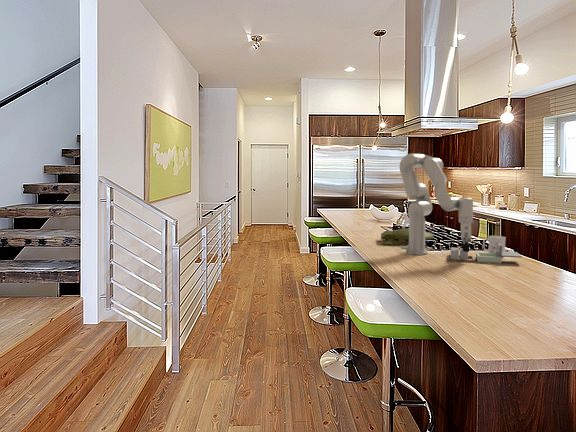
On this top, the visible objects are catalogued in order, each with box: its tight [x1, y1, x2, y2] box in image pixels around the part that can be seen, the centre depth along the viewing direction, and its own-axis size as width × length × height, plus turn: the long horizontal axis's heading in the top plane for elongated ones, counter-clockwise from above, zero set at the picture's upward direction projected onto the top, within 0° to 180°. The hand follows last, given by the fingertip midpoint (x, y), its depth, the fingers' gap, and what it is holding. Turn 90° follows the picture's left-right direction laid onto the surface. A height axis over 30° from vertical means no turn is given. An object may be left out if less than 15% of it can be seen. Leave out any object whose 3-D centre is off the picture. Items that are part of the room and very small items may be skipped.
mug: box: [482, 235, 507, 253], centre depth 287 cm, size 12×9×11 cm
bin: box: [475, 251, 503, 265], centre depth 272 cm, size 12×12×4 cm
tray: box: [446, 254, 476, 263], centre depth 276 cm, size 14×13×1 cm
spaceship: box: [380, 227, 435, 247], centre depth 332 cm, size 35×31×10 cm
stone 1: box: [450, 246, 460, 259], centre depth 278 cm, size 4×4×6 cm
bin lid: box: [494, 243, 522, 259], centre depth 268 cm, size 12×12×6 cm
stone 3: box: [459, 248, 469, 260], centre depth 275 cm, size 4×4×6 cm
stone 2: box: [449, 248, 460, 259], centre depth 273 cm, size 4×4×6 cm
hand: (465, 250), depth 274 cm, fingers open, 9 cm apart
